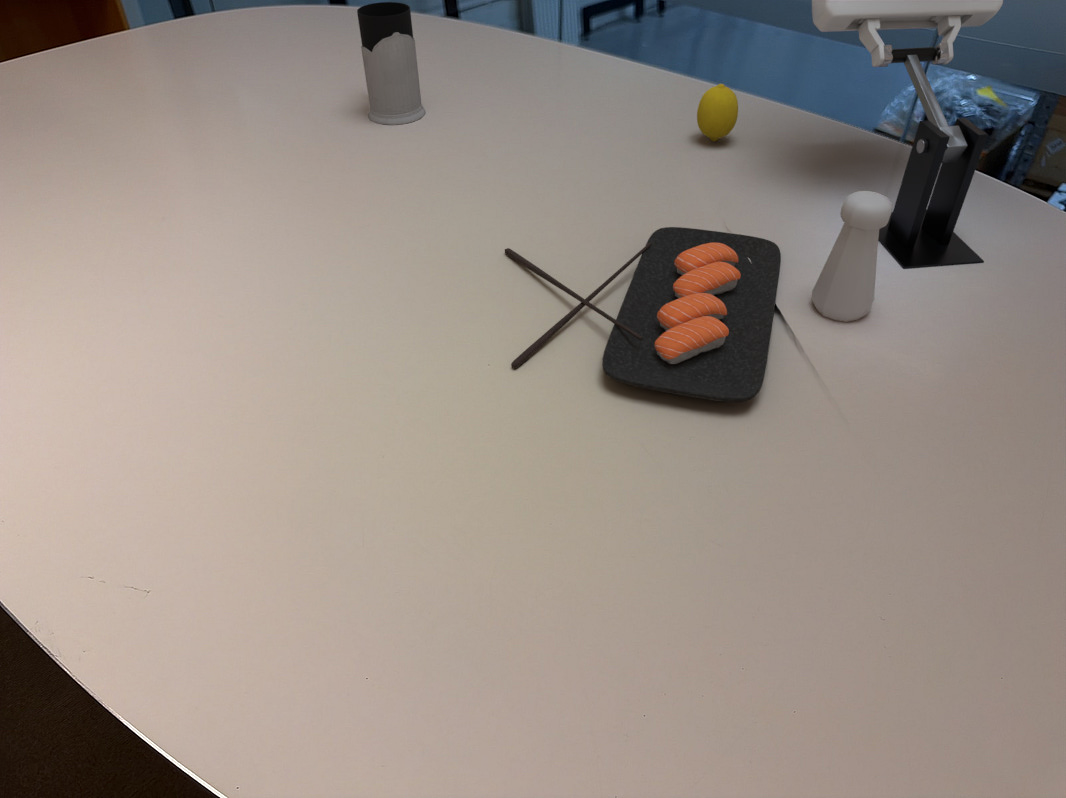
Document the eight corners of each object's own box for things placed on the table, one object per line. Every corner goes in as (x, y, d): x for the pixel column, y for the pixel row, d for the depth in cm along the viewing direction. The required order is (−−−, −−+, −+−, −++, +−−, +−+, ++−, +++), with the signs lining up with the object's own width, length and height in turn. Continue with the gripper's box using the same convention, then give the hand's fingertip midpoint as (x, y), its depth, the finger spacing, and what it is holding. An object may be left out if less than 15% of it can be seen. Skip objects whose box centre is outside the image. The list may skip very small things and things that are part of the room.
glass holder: (381, 129, 120) (365, 21, 110) (347, 99, 130) (330, -2, 120) (434, 117, 123) (424, 11, 114) (398, 89, 133) (386, -11, 123)
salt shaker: (802, 300, 84) (829, 182, 75) (858, 300, 84) (892, 182, 75) (815, 333, 79) (846, 212, 71) (874, 333, 79) (912, 212, 71)
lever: (878, 60, 91) (887, 42, 89) (925, 58, 91) (935, 40, 89) (921, 164, 84) (932, 148, 82) (971, 161, 85) (983, 144, 82)
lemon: (741, 142, 114) (750, 85, 109) (713, 152, 112) (720, 94, 107) (714, 130, 118) (721, 74, 113) (685, 139, 115) (692, 82, 110)
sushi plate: (757, 422, 70) (764, 387, 67) (433, 363, 77) (429, 330, 74) (780, 254, 91) (787, 224, 88) (525, 221, 98) (524, 191, 95)
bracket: (854, 224, 96) (885, 108, 87) (926, 218, 97) (964, 103, 88) (900, 277, 87) (940, 154, 78) (980, 271, 87) (1029, 148, 79)
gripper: (973, -44, 93) (985, 73, 93) (800, -39, 92) (811, 80, 91) (1008, -79, 87) (1022, 45, 86) (824, -75, 86) (836, 52, 85)
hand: (912, 63), depth 89 cm, fingers closed on lever, 5 cm apart
